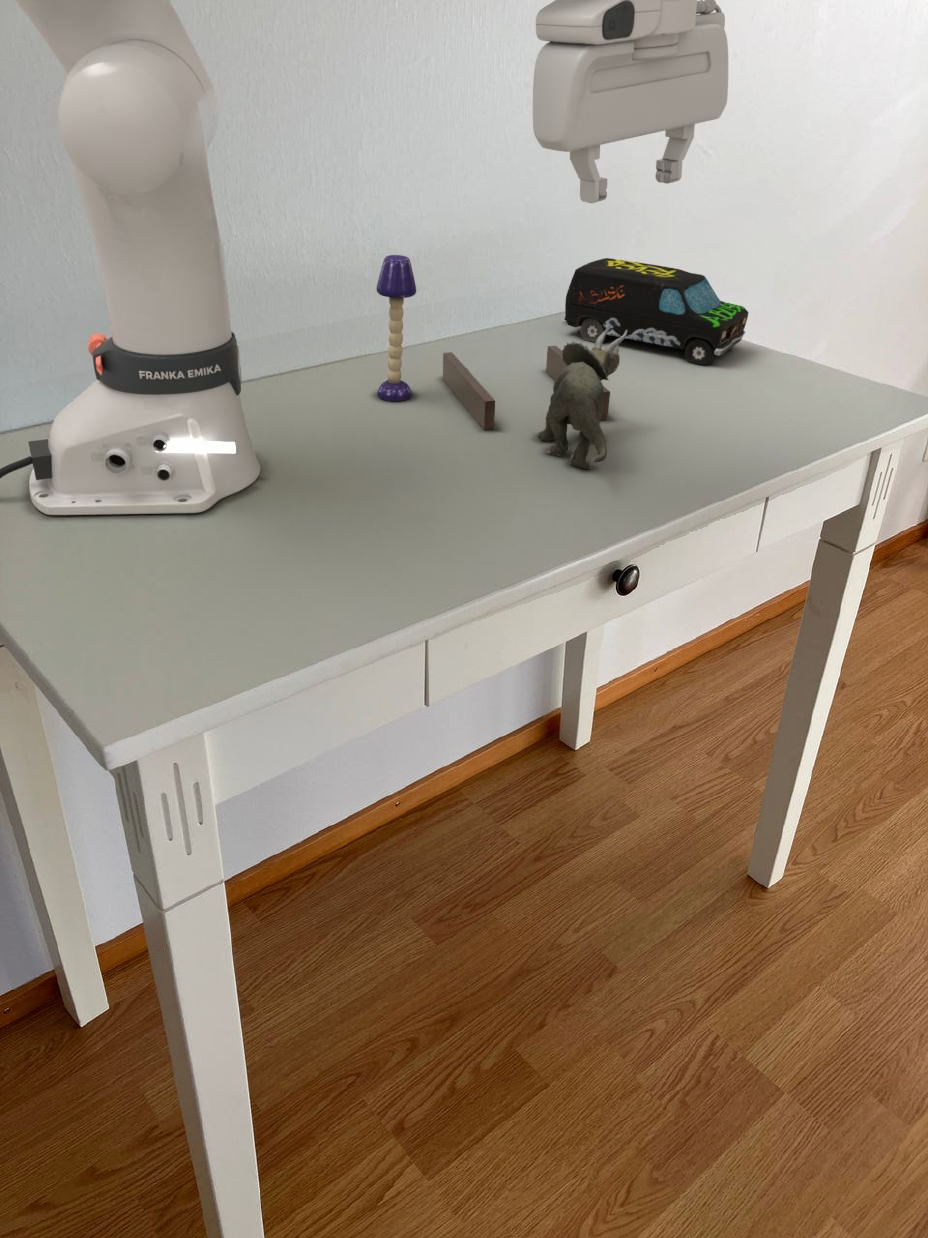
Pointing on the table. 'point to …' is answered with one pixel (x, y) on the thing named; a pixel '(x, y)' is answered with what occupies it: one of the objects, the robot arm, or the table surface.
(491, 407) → the walnut rails
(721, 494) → the table surface
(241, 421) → the robot arm
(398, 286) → the toy lamp
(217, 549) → the table surface
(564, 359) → the toy dinosaur
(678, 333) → the toy van
